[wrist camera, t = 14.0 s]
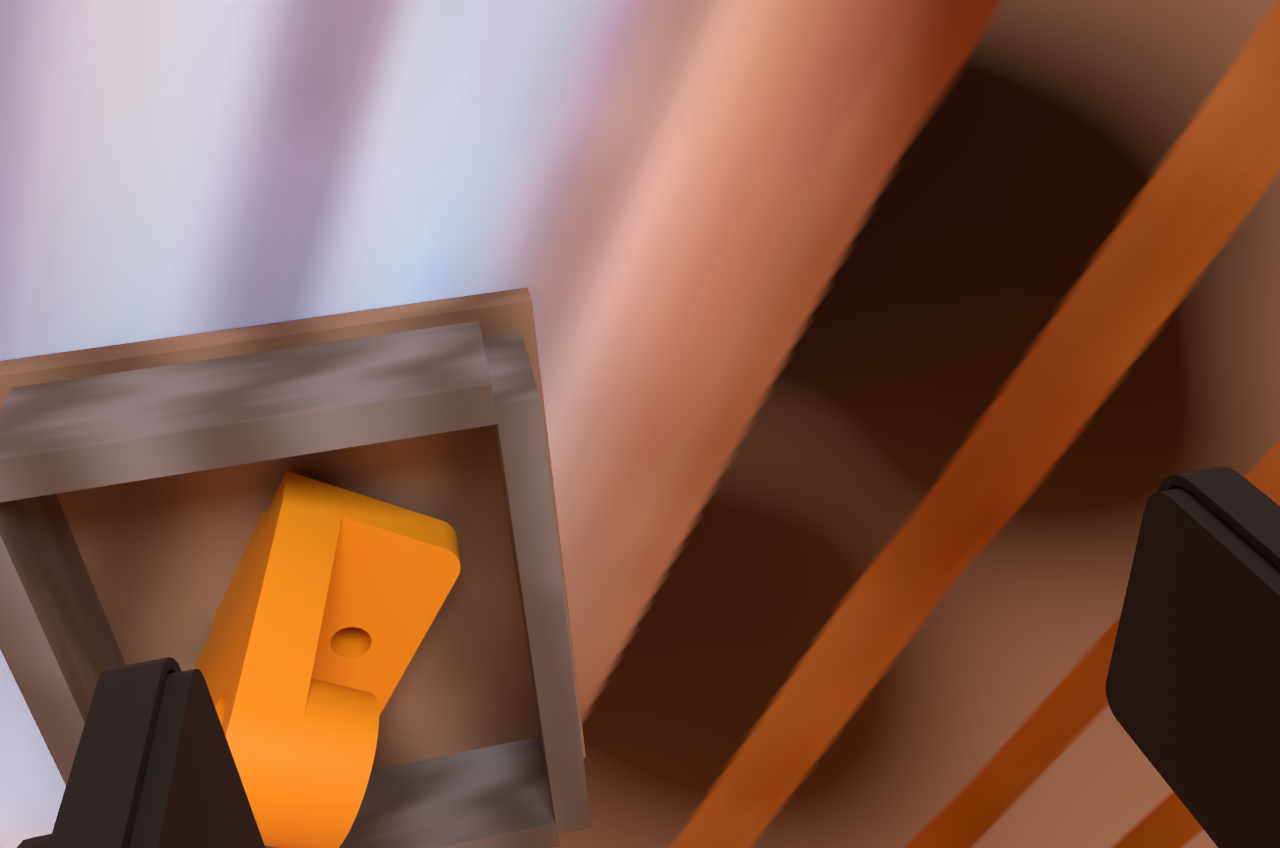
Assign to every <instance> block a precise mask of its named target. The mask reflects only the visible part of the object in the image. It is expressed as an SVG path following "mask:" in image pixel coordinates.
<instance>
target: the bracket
mask: <svg viewBox="0 0 1280 848" xmlns="http://www.w3.org/2000/svg"><path fill="white" fill-rule="evenodd" d="M460 568H461V567H460V558H459V549H458V541H457V534H456V532H455V530H454V528H453V527H452V526H451V525H450V524H448V523H447V522H444V521H442V520H439V519H436V518H433V517H429V516H426V515H423V514H420V513H417V512H414V511H411V510H408V509H404V508H401V507H398V506H395V505H392V504H389V503H386V502H383V501H379V500H376V499H373V498H370V497H367V496H364V495H361V494H358V493H355V492H351V491H348V490H345V489H342V488H339V487H336V486H333V485H330V484H326V483H323V482H320V481H317V480H314V479H311V478H308V477H305V476H301V475H298V474H295V473H292V472H289V471H286V473H285V475H284V477H283V479H282V481H281V483H280V485H279V487H278V490H277V492H276V494H275V496H274V498H273V500H272V502H271V505H270V507H269V509H268V511H267V513H264V512H263V513H262V515H261V517H260V519H259V522H258V524H257V526H256V528H255V530H254V532H253V534H252V537H251V539H250V541H249V543H248V545H247V547H246V549H245V551H244V554H243V556H242V558H241V560H240V562H239V564H238V566H237V569H236V571H235V573H234V575H233V577H232V579H231V581H230V584H229V586H228V588H227V590H226V592H225V594H224V596H223V599H222V601H221V603H220V605H219V607H218V609H217V611H216V614H215V616H214V618H213V621H212V626H211V632H210V635H209V637H208V639H207V641H206V643H205V645H204V647H203V650H202V652H201V654H200V656H199V658H198V660H197V662H196V665H195V667H194V669H199V670H200V671H201V672H202V674H203V676H204V678H205V681H206V683H207V686H208V689H209V692H210V695H211V697H212V700H213V703H214V706H215V708H216V711H217V714H218V717H219V720H220V722H221V725H222V728H223V731H224V734H225V736H226V739H227V742H228V745H229V748H230V750H231V753H232V756H233V759H234V761H235V764H236V767H237V770H238V773H239V775H240V778H241V781H242V784H243V787H244V789H245V792H246V795H247V798H248V801H249V803H250V806H251V809H252V812H253V814H254V817H255V820H256V823H257V826H258V828H259V831H260V834H261V837H262V840H263V842H264V845H265V846H270V847H276V848H339V847H340V845H341V844H342V843H343V841H344V839H345V838H346V836H347V834H348V833H349V831H350V829H351V827H352V825H353V822H354V820H355V818H356V816H357V813H358V811H359V808H360V805H361V803H362V800H363V797H364V794H365V791H366V788H367V784H368V781H369V777H370V774H371V770H372V765H373V761H374V756H375V751H376V745H377V738H378V729H379V716H380V714H381V713H382V711H383V709H384V707H385V705H386V704H387V702H388V700H389V698H390V697H391V695H392V693H393V691H394V689H395V688H396V686H397V684H398V682H399V681H400V679H401V677H402V675H403V673H404V672H405V670H406V668H407V666H408V665H409V663H410V661H411V659H412V658H413V656H414V654H415V652H416V650H417V649H418V647H419V645H420V643H421V642H422V640H423V638H424V636H425V634H426V633H427V631H428V629H429V627H430V626H431V624H432V622H433V620H434V618H435V617H436V615H437V613H438V611H439V610H440V608H441V606H442V604H443V602H444V601H445V599H446V597H447V595H448V594H449V592H450V590H451V588H452V587H453V585H454V583H455V581H456V579H457V578H458V576H459V573H460Z"/></svg>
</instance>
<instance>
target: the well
mask: <svg viewBox="0 0 1280 848" xmlns="http://www.w3.org/2000/svg"><path fill="white" fill-rule="evenodd" d="M286 471H289V472H292V473H295V474H298V475H301V476H305V477H308V478H311V479H314V480H317V481H320V482H323V483H326V484H330V485H333V486H336V487H339V488H342V489H345V490H348V491H351V492H355V493H358V494H361V495H364V496H367V497H370V498H373V499H376V500H379V501H383V502H386V503H389V504H392V505H395V506H398V507H401V508H404V509H408V510H411V511H414V512H417V513H420V514H423V515H426V516H429V517H433V518H436V519H439V520H442V521H444V522H447V523H448V524H450V525H451V526H452V527H453V528H454V530H455V532H456V534H457V541H458V549H459V558H460V567H461V568H460V573H459V576H458V578H457V579H456V581H455V583H454V585H453V587H452V588H451V590H450V592H449V594H448V595H447V597H446V599H445V601H444V602H443V604H442V606H441V608H440V610H439V611H438V613H437V615H436V617H435V618H434V620H433V622H432V624H431V626H430V627H429V629H428V631H427V633H426V634H425V636H424V638H423V640H422V642H421V643H420V645H419V647H418V649H417V650H416V652H415V654H414V656H413V658H412V659H411V661H410V663H409V665H408V666H407V668H406V670H405V672H404V673H403V675H402V677H401V679H400V681H399V682H398V684H397V686H396V688H395V689H394V691H393V693H392V695H391V697H390V698H389V700H388V702H387V704H386V705H385V707H384V709H383V711H382V713H381V714H380V716H379V729H378V738H377V745H376V751H375V756H374V761H373V765H372V770H371V774H370V777H369V781H368V784H367V788H366V791H365V794H364V797H363V800H362V803H361V805H360V808H359V811H358V813H357V816H356V818H355V820H354V822H353V825H352V827H351V829H350V831H349V833H348V834H347V836H346V838H345V839H344V841H343V843H342V844H341V845H340V847H339V848H549V847H554V846H559V842H558V836H557V834H560V833H565V832H570V831H574V830H578V829H583V828H588V827H591V819H590V811H589V802H588V794H587V786H586V778H585V769H584V761H583V758H585V757H586V755H585V748H584V738H583V730H582V722H581V713H580V705H579V696H578V688H577V679H576V671H575V663H574V654H573V646H572V637H571V629H570V621H569V612H568V604H567V595H566V587H565V578H564V570H563V562H562V553H561V545H560V536H559V528H558V519H557V511H556V503H555V494H554V486H553V477H552V469H551V461H550V452H549V444H548V435H547V427H546V418H545V410H544V402H543V393H542V385H541V376H540V368H539V360H538V351H537V343H536V334H535V326H534V317H533V309H532V301H531V298H530V294H529V291H528V288H523V289H515V290H508V291H501V292H494V293H487V294H479V295H472V296H465V297H458V298H451V299H444V300H436V301H429V302H422V303H415V304H408V305H401V306H393V307H386V308H379V309H372V310H365V311H357V312H350V313H343V314H336V315H329V316H322V317H314V318H307V319H300V320H293V321H286V322H278V323H271V324H264V325H257V326H250V327H243V328H235V329H228V330H221V331H214V332H207V333H200V334H192V335H185V336H178V337H171V338H164V339H156V340H149V341H142V342H135V343H128V344H121V345H113V346H106V347H99V348H92V349H85V350H78V351H70V352H63V353H56V354H49V355H42V356H34V357H27V358H20V359H13V360H6V361H0V649H1V651H2V653H3V655H4V657H5V659H6V661H7V664H8V666H9V668H10V670H11V672H12V674H13V676H14V678H15V680H16V682H17V684H18V686H19V689H20V691H21V693H22V695H23V697H24V699H25V701H26V703H27V705H28V707H29V709H30V711H31V713H32V716H33V718H34V720H35V722H36V724H37V726H38V728H39V730H40V732H41V734H42V736H43V738H44V741H45V743H46V745H47V747H48V749H49V751H50V753H51V755H52V757H53V759H54V761H55V763H56V765H57V768H58V770H59V772H60V774H61V776H62V778H63V780H64V782H65V784H66V785H67V782H68V778H69V775H70V772H71V768H72V765H73V762H74V758H75V755H76V752H77V748H78V745H79V741H80V738H81V735H82V731H83V728H84V725H85V721H86V718H87V715H88V711H89V708H90V704H91V701H92V698H93V694H94V691H95V688H96V684H97V681H98V679H99V677H100V674H101V673H102V672H103V671H104V670H105V669H107V668H112V667H118V666H123V665H129V664H134V663H140V662H145V661H151V660H156V659H162V658H167V657H171V658H174V659H175V660H176V661H177V663H178V664H179V666H180V668H181V671H187V670H192V669H194V667H195V665H196V662H197V660H198V658H199V656H200V654H201V652H202V650H203V647H204V645H205V643H206V641H207V639H208V637H209V635H210V632H211V626H212V621H213V618H214V616H215V614H216V611H217V609H218V607H219V605H220V603H221V601H222V599H223V596H224V594H225V592H226V590H227V588H228V586H229V584H230V581H231V579H232V577H233V575H234V573H235V571H236V569H237V566H238V564H239V562H240V560H241V558H242V556H243V554H244V551H245V549H246V547H247V545H248V543H249V541H250V539H251V537H252V534H253V532H254V530H255V528H256V526H257V524H258V522H259V519H260V517H261V515H262V513H263V512H264V513H267V511H268V509H269V507H270V505H271V502H272V500H273V498H274V496H275V494H276V492H277V490H278V487H279V485H280V483H281V481H282V479H283V477H284V475H285V473H286ZM265 848H276V847H270V846H265Z"/></svg>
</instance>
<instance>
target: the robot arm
mask: <svg viewBox="0 0 1280 848" xmlns="http://www.w3.org/2000/svg"><path fill="white" fill-rule="evenodd" d="M1106 695H1107V699H1108V703H1109V706H1110V708H1111V711H1112V713H1113V715H1114V716H1115V718H1116V719H1117V721H1118V722H1119V723H1120V724H1121V726H1122V727H1123V728H1124V729H1125V731H1126V732H1127V733H1128V734H1129V736H1130V737H1131V738H1132V739H1133V741H1134V742H1135V743H1136V744H1137V746H1138V747H1139V748H1140V750H1141V751H1142V752H1143V753H1144V754H1145V756H1146V757H1147V758H1148V760H1149V761H1150V762H1151V763H1152V765H1153V766H1154V767H1155V768H1156V770H1157V771H1158V772H1159V773H1160V775H1161V776H1162V777H1163V779H1164V780H1165V781H1166V782H1167V784H1168V785H1169V786H1170V787H1171V789H1172V790H1173V791H1174V792H1175V794H1176V795H1177V796H1178V797H1179V799H1180V800H1181V801H1182V802H1183V804H1184V805H1185V806H1186V807H1187V809H1188V810H1189V811H1190V812H1191V814H1192V815H1193V816H1194V818H1195V819H1196V820H1197V821H1198V823H1199V824H1200V825H1201V826H1202V828H1203V829H1204V830H1205V831H1206V833H1207V834H1208V835H1209V836H1210V838H1211V839H1212V840H1213V841H1214V843H1215V844H1216V845H1217V846H1218V848H1280V506H1279V505H1277V504H1276V503H1275V502H1274V501H1272V500H1271V499H1270V498H1269V497H1267V496H1266V495H1265V494H1264V493H1262V492H1261V491H1260V490H1259V489H1257V488H1256V487H1255V486H1254V485H1252V484H1251V483H1250V482H1249V481H1247V480H1246V479H1245V478H1244V477H1242V476H1241V475H1240V474H1239V473H1237V472H1235V471H1234V470H1232V469H1230V468H1227V467H1214V468H1209V469H1203V470H1198V471H1192V472H1187V473H1182V474H1176V475H1172V476H1169V477H1166V478H1165V479H1164V480H1163V481H1162V483H1161V484H1160V486H1159V488H1158V491H1157V493H1154V494H1152V495H1151V496H1150V497H1149V498H1148V500H1147V503H1146V506H1145V510H1144V515H1143V519H1142V524H1141V528H1140V532H1139V537H1138V541H1137V546H1136V550H1135V555H1134V559H1133V564H1132V569H1131V573H1130V578H1129V582H1128V586H1127V591H1126V595H1125V600H1124V604H1123V609H1122V613H1121V618H1120V622H1119V627H1118V631H1117V636H1116V640H1115V645H1114V649H1113V654H1112V658H1111V662H1110V667H1109V671H1108V676H1107V680H1106ZM17 848H265V845H264V842H263V840H262V837H261V834H260V831H259V828H258V826H257V823H256V820H255V817H254V814H253V812H252V809H251V806H250V803H249V801H248V798H247V795H246V792H245V789H244V787H243V784H242V781H241V778H240V775H239V773H238V770H237V767H236V764H235V761H234V759H233V756H232V753H231V750H230V748H229V745H228V742H227V739H226V736H225V734H224V731H223V728H222V725H221V722H220V720H219V717H218V714H217V711H216V708H215V706H214V703H213V700H212V697H211V695H210V692H209V689H208V686H207V683H206V681H205V678H204V676H203V674H202V672H201V671H200V670H199V669H192V670H187V671H181V668H180V666H179V664H178V663H177V661H176V660H175V659H174V658H171V657H167V658H162V659H156V660H151V661H145V662H140V663H134V664H129V665H123V666H118V667H112V668H107V669H105V670H104V671H103V672H102V673H101V674H100V677H99V679H98V681H97V684H96V688H95V691H94V694H93V698H92V701H91V704H90V708H89V711H88V715H87V718H86V721H85V725H84V728H83V731H82V735H81V738H80V741H79V745H78V748H77V752H76V755H75V758H74V762H73V765H72V768H71V772H70V775H69V778H68V782H67V785H66V789H65V792H64V795H63V799H62V802H61V805H60V809H59V812H58V815H57V819H56V822H55V826H54V829H53V832H52V834H49V835H44V836H39V837H34V838H30V839H26V840H23V841H22V842H21V844H20V845H19V846H18V847H17Z"/></svg>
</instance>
